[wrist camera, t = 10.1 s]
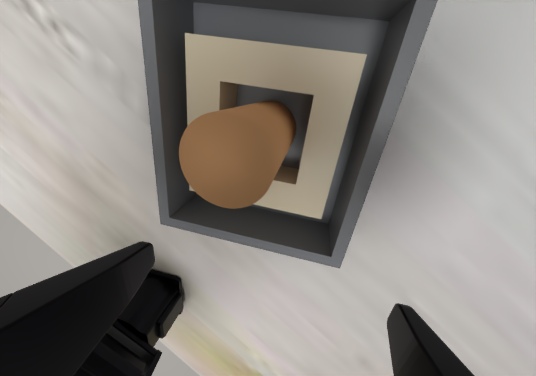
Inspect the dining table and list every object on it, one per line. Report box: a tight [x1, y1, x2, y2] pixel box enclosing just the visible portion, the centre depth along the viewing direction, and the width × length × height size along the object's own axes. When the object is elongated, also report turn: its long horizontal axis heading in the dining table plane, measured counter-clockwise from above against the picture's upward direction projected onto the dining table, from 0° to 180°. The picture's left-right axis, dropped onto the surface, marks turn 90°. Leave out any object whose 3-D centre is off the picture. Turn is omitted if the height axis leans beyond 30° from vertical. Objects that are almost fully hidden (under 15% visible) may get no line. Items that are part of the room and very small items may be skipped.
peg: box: [179, 100, 296, 209], centre depth 13 cm, size 4×4×9 cm
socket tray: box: [138, 0, 437, 268], centre depth 15 cm, size 14×16×5 cm
